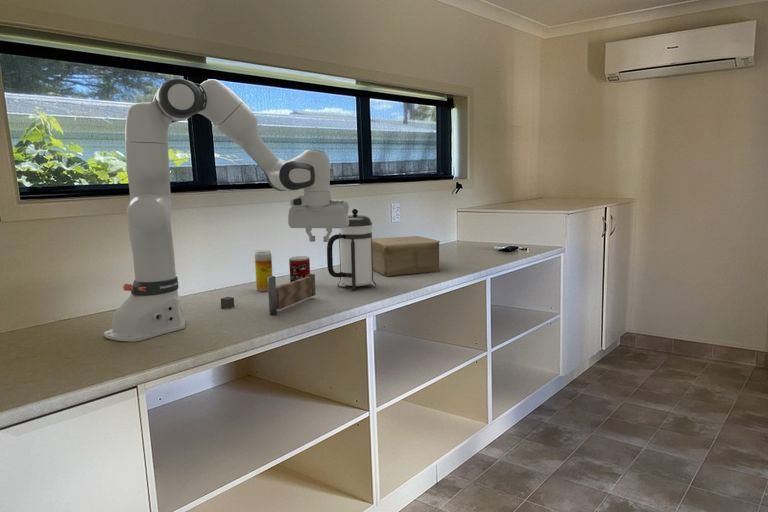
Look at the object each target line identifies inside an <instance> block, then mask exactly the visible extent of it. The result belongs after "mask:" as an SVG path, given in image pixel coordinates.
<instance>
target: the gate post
mask: <svg viewBox="0 0 768 512" xmlns="http://www.w3.org/2000/svg"><path fill="white" fill-rule="evenodd" d="M276 281H277V280H276V275H275V276H274V275H272V276H269V277H268V291H267V292H268V294H267V296H268V309H269V311H268V312H269V315H270V316H276V315H278V309H277V299H276V287H277V284H276V283H277V282H276Z"/></svg>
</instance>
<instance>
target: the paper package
mask: <svg viewBox="0 0 768 512" xmlns="http://www.w3.org/2000/svg"><path fill="white" fill-rule="evenodd" d="M440 243H441V241H440V240H438V239H433V238H429V237H423V236H420V235H419V236H418V235H413V236H398V237H397V236H396V237H394V236H392V237H380V238H379V237H378V238H372V256H373V272H377V273H378V274H380V275H382V276H385V277H390V276H391V277H393V276H403V275H414V274H426V273H436V272H440Z"/></svg>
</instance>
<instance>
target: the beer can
mask: <svg viewBox="0 0 768 512" xmlns="http://www.w3.org/2000/svg"><path fill="white" fill-rule="evenodd" d="M272 259H273V257H272V252H271V250H269V249H258V250H256V251H255V253H254V262H255V263H254V265H255V283H256V284H255V285H256V290H257V291H259V292H268V277H269V276H273V261H272Z"/></svg>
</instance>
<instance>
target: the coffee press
mask: <svg viewBox="0 0 768 512" xmlns="http://www.w3.org/2000/svg"><path fill="white" fill-rule="evenodd" d="M358 213H359V210H358V209H357V208H352V211H351V214H352V215H348V218H349V225H348V227H347V228H338V229H339V233H338V234H333V235H332V236H331V237H329V242H327V244H326V260H327V263H326V264H327V271H328V273H329V275H330V276H331V277H333V278H339V282H338V283H337V287H338V288H341V287H342V286H343V285H345V286H349V287H351V291H352V292H353V291H354V292H355V291H357V287H363V286H367V285H368V286H369V285H370V286H371V287H372V288H376V286H377V284H376V282H375V281H374V270H373V256H372V239H373V232H372V229H373V222H372V220H371V218H370V217H369V216H366V215H359V214H358ZM336 240H338V242H339V245H338V247H339V272H336V271H335V270H334V266H333V265H334V264H333V263H334V260H333V246H334V242H336ZM372 282H373V284H374V285H375V286H374V285H373V284H371V283H372ZM340 283H342V284H341V285H339V284H340Z"/></svg>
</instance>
